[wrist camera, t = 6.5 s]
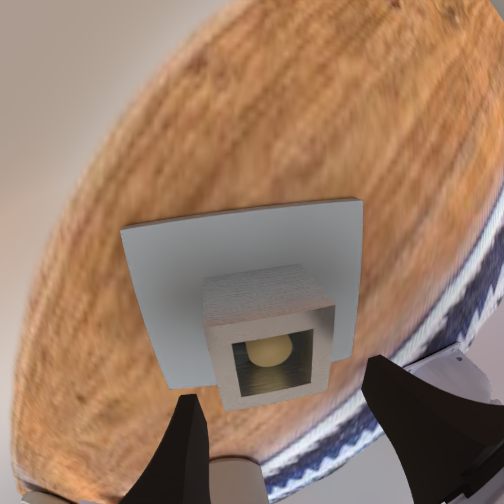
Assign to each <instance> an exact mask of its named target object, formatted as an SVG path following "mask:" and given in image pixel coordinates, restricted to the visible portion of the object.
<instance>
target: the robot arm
mask: <svg viewBox="0 0 504 504" xmlns="http://www.w3.org/2000/svg"><path fill="white" fill-rule="evenodd" d="M459 347H460V343H459V342H456V343H455V344H453V345H451V346H449V347H447V348H445V349H443V350H441V351H439V352H437V353H435V354H433V355H431V356H429V357H427V358H425V359H423V360H420V361H418V362H416V363H414V364H411V365H409V366H407V367H405V368H401V367H400V366H398V365H396V364H395V363H393V362H392V361H390V360H388V359H387V358H385V357H384V356H382V355H377V356H374V357H371V358H368V363H367V367H366V372H365V376H364V380H363V384H362V388H361V390H362V392H363V395H364V397H365V400H366V402H367V404H368V406H369V408H370V410H371V411H372V413H373V415H374V416H375V418H376V419H377V421H378V423H379V424H380V426H381V427H382V429H383V430H384V432H385V434H386V435H387V437H388V438H389V440H390V441H391V443H392V445H393V447H394V449H395V451H396V453H397V455H398V458H399V460H400V462H401V465H402V467H403V470H404V472H405V475H406V478H407V480H408V484H409V487H410V490H411V493H412V497H413V501H414V504H441V503H443V502H444V501H445V503H446V504H504V405H503V404H502V403H501V402H500V401H499V400H498V399H495V400H491V395H492V388H491V384H490V381H489V379H488V378H487V376H486V375H485V374H484V373H483V372H482V371H481V370H480V369H479V368H478V367H477V366H476V365H475V364H474V363H473V362H472V361H471V360H469V359H468V358H467V357H466V356H465V355H464V354H463V353H462V352H461V351H460V350H459ZM117 504H211V499H210V489H209V438H208V429H207V422H206V419H205V417H204V414H203V411H202V409H201V406H200V403H199V400H198V398H197V395H196V394H187V395H181V396H180V397H179V399H178V402H177V405H176V408H175V411H174V413H173V416H172V418H171V421H170V423H169V425H168V428H167V430H166V432H165V434H164V437H163V439H162V441H161V443H160V445H159V446H158V448H157V450H156V452H155V454H154V456H153V458H152V459H151V461H150V463H149V464H148V466H147V467H146V469H145V470H144V472H143V473H142V475H141V476H140V478H139V479H138V480H137V482H136V483H135V484H134V485H133V487H132V488H131V489H130V490H129V492H128V493H127V494H126V495H125V496H124V497H123V498H122V499H121V500H120V501H119V502H118V503H117Z"/></svg>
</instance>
